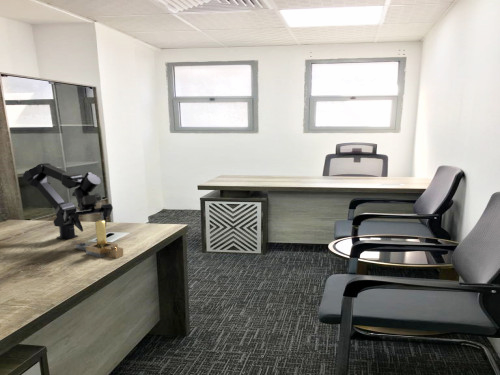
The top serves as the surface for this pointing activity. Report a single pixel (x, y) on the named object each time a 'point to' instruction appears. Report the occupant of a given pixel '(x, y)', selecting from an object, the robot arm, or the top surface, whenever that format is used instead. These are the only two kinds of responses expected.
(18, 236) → the top surface
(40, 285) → the top surface
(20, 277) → the top surface
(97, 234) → the brass pin
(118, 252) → the square frame with handle
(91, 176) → the robot arm
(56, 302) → the top surface
